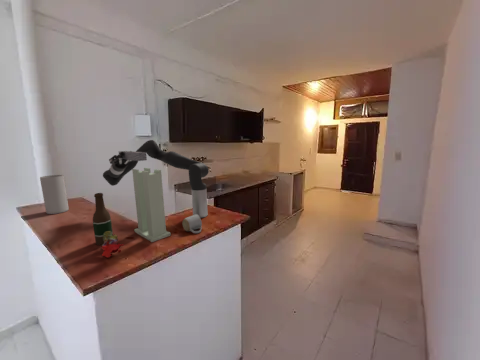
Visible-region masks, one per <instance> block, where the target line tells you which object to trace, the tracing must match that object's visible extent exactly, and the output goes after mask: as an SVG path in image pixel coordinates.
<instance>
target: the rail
mask: <svg viewBox="0 0 480 360" xmlns="http://www.w3.org/2000/svg"><path fill="white" fill-rule="evenodd" d="M121 151H122V150H119V151H118V154H119V153H120V152H121ZM123 153H124V155H123V157H122V158H121V159H127V160H135V161H138V162H141V161H142V162H143V161H147V160H148V159H147V153H146V152H136V151H132V150H130V151H129V150H123Z"/></svg>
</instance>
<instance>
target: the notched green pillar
mask: <svg viewBox="0 0 480 360" xmlns="http://www.w3.org/2000/svg"><path fill="white" fill-rule="evenodd" d="M131 171H132V181H133V190H134V199H135V207H136V208H135V209H136V217H137V227H138V228H135V229H134V232H135V233H136V234H137V235H139V236H140V237H142V238H144V239H146V240H147V241H150V242H151V243H154V242H158V241H159V240H162V239H164V238H167V237H170V236H171V232H170V231H169V230H167V227H166V226H167V225H166V223H167V222H166V214H165V202H164V200H165V199H164V189H163V179H162V169H158V168H157V169H156V168H155V169H153V171H154V172H151V168H149V167H144V168H143V170H141V171H140V170H139V169H137V168H133V169H132V170H131Z"/></svg>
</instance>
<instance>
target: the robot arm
mask: <svg viewBox="0 0 480 360" xmlns="http://www.w3.org/2000/svg"><path fill="white" fill-rule="evenodd" d="M120 151H121V152H120V153H119V152H118V154H115V155H113V156H112V157H110V158H109V159H108V161H109V163H110V167H109V168H108V169H107V170H105V171H104V172H103V173H102V177H103V179H104V180H105V181H106V182H107V183H108V184H109V185H110V186H116V185H118V184H119V183H120V181H122V179H123V178H124V176H126V175H127V174H128V173H129V172H131V171H132V169H135V168H136V166H137V165H138V162H139V161H135V160H127V159H121V158H122V157H123V155H124V153H123V151H124V150H123V151H122V150H120ZM135 152H146V155H147V156H148V157H149V158H152V159H155V160H159V161H160V162H163V163H165V164H167V165H169V166H171V167H173V168H175V169H176V168H177V169H180V170H185V171H188V180H189V185H190V187H191V188H190V189H191V200H192V201H191V202H192V203H191V205H192V216H193V215H195V214H197V215H199V217H200V219H201V218H206V217H207V216H208V214H209V213H208V195H207V190H208V189H207V184H206V183H205V182H203V180H202V179H203V178H204V177H206V176H207V175H208V174H209V173H210V172H209V171H210V170H209V167H208V166H207V165H206V164H205V163H204V162H201V161H197V160H195V159H191V158H189V157H187V156H185V155H184V154H183V155H182V154H180V153H178V152H176V151H173V150H172V151H170V150H169V151H165V150H164V149H163V150H162V149H161V148H160V147H159V145H158V143H157V142H156V141H155V140H154V139H149V140H147V141H145V142H144V143H143V144H142V145H141V146H140V147H139V148H137V150H136V151H135Z"/></svg>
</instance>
